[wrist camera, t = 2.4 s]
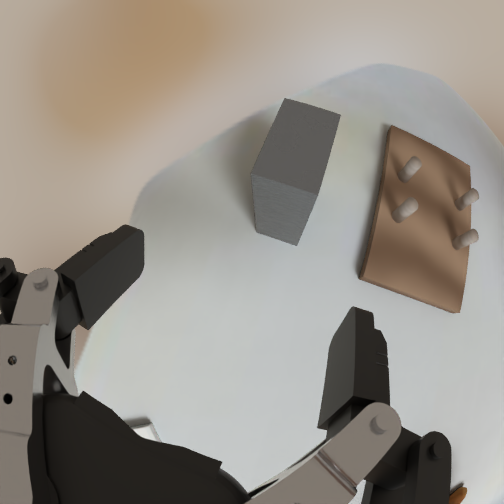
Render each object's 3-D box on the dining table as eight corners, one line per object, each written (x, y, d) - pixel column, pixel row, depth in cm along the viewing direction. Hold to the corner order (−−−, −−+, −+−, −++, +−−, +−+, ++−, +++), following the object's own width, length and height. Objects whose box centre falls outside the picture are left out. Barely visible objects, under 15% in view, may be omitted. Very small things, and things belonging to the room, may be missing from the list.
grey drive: (296, 246, 23) (317, 195, 14) (256, 232, 24) (250, 173, 14) (316, 184, 25) (341, 113, 15) (279, 172, 25) (285, 96, 15)
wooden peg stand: (452, 313, 21) (479, 310, 17) (358, 279, 22) (377, 270, 18) (464, 170, 24) (483, 153, 20) (387, 131, 26) (401, 107, 22)
